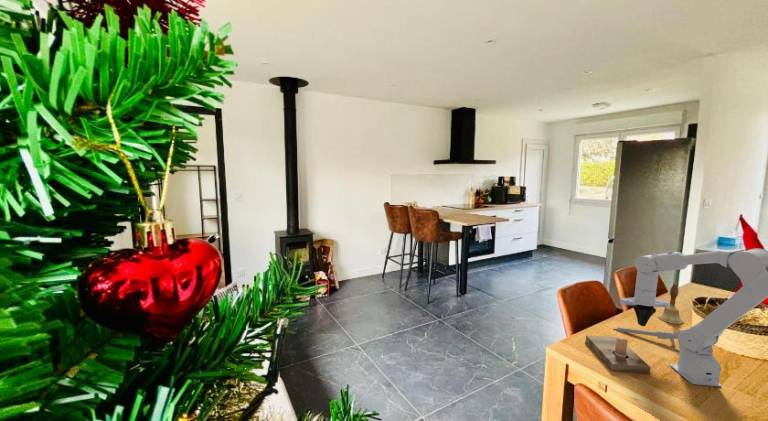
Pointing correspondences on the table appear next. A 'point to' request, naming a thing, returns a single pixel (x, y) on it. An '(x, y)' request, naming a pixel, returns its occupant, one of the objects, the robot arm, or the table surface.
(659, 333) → the caliper
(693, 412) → the table surface
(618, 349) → the peg
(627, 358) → the board
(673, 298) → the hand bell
